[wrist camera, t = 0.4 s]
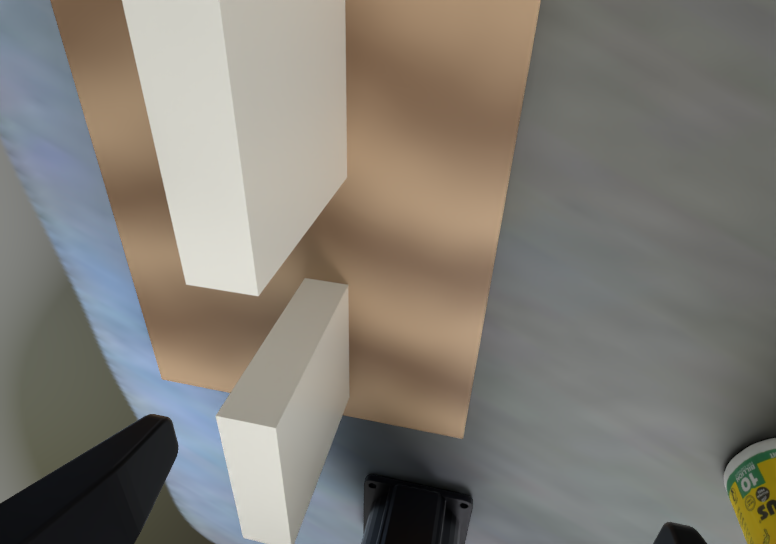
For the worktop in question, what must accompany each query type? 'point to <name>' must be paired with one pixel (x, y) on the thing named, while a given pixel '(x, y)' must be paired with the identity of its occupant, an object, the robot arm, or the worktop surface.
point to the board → (343, 202)
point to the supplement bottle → (754, 491)
